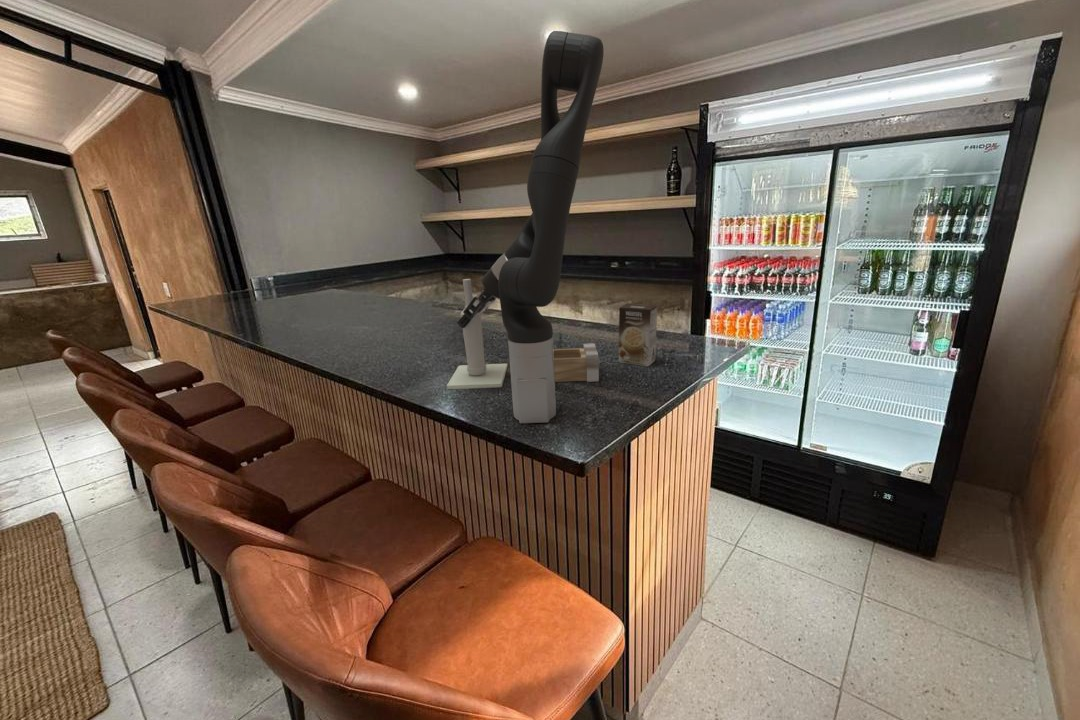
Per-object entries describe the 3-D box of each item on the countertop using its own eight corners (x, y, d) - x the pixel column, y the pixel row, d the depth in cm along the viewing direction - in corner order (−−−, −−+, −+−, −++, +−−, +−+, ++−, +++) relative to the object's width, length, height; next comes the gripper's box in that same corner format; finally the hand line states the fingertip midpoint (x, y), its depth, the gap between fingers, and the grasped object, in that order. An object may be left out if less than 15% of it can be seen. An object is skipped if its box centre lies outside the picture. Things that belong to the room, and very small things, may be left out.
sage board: (501, 387, 114) (501, 383, 113) (447, 389, 114) (446, 385, 114) (507, 366, 129) (507, 363, 129) (459, 368, 129) (458, 365, 129)
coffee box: (617, 362, 127) (617, 307, 123) (626, 356, 133) (626, 302, 128) (648, 367, 123) (650, 309, 118) (656, 360, 128) (658, 304, 123)
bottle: (479, 376, 118) (468, 281, 110) (463, 374, 120) (452, 281, 113) (490, 370, 122) (481, 278, 114) (475, 368, 125) (465, 277, 117)
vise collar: (598, 381, 114) (598, 355, 112) (538, 383, 115) (537, 357, 113) (594, 365, 126) (593, 341, 124) (539, 367, 127) (538, 343, 125)
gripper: (502, 261, 117) (465, 307, 124) (482, 269, 104) (442, 319, 111) (523, 281, 117) (485, 325, 124) (506, 291, 104) (464, 340, 111)
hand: (465, 322), depth 117 cm, fingers open, 5 cm apart
